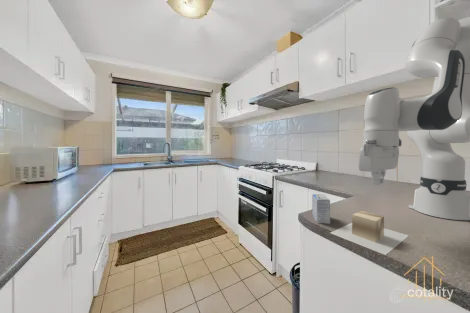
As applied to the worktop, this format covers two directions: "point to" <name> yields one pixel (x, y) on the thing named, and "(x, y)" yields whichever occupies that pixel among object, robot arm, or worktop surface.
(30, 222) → the worktop surface
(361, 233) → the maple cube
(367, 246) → the white flat sheet
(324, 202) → the medicine box
